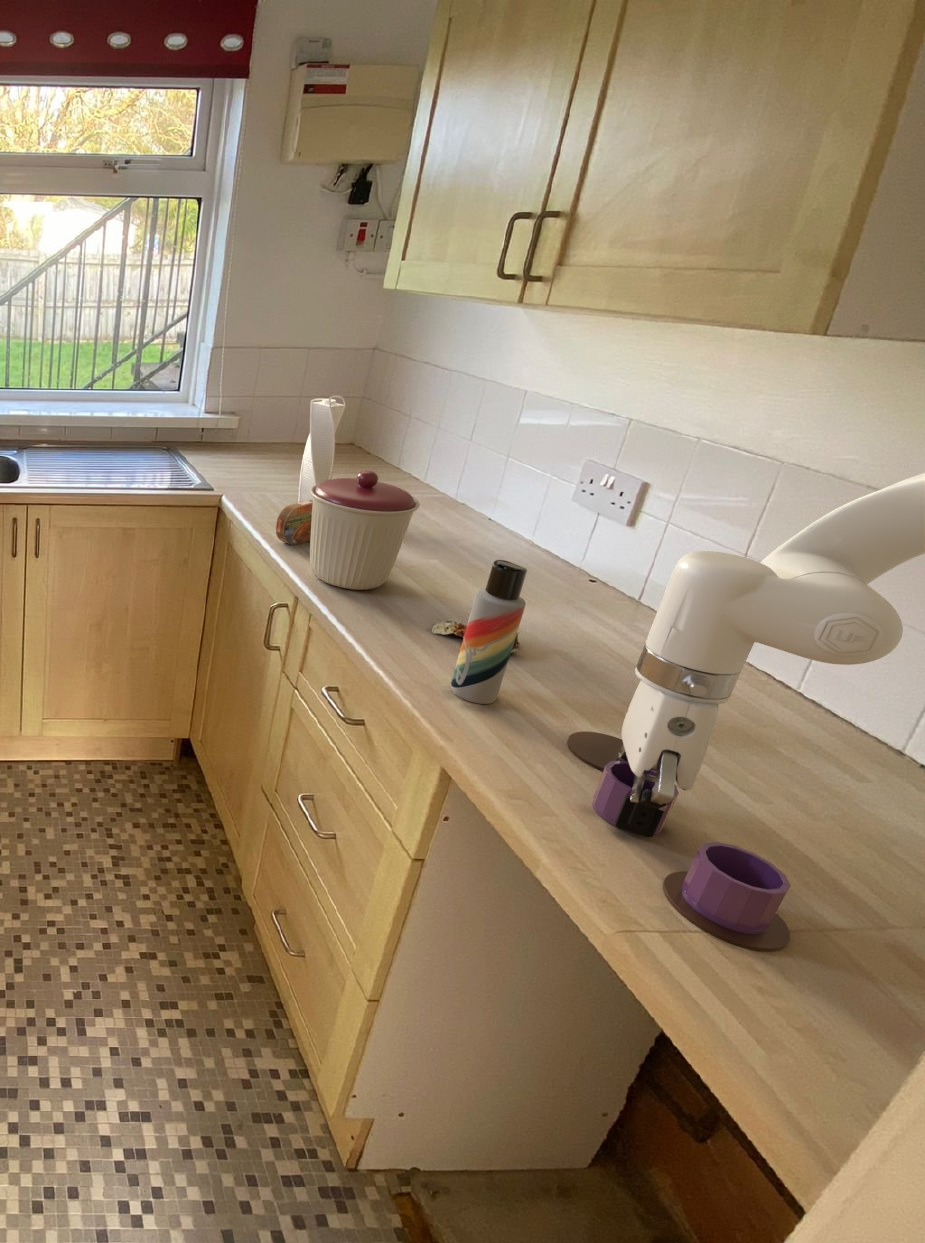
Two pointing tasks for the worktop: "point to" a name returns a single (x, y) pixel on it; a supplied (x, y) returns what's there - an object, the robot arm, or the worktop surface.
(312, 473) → the skyscraper
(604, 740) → the coaster back
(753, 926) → the ramekin
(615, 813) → the ramekin
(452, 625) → the pastry
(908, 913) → the worktop surface
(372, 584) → the canister
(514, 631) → the lotion bottle
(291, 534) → the tin
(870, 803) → the worktop surface
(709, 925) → the coaster front
